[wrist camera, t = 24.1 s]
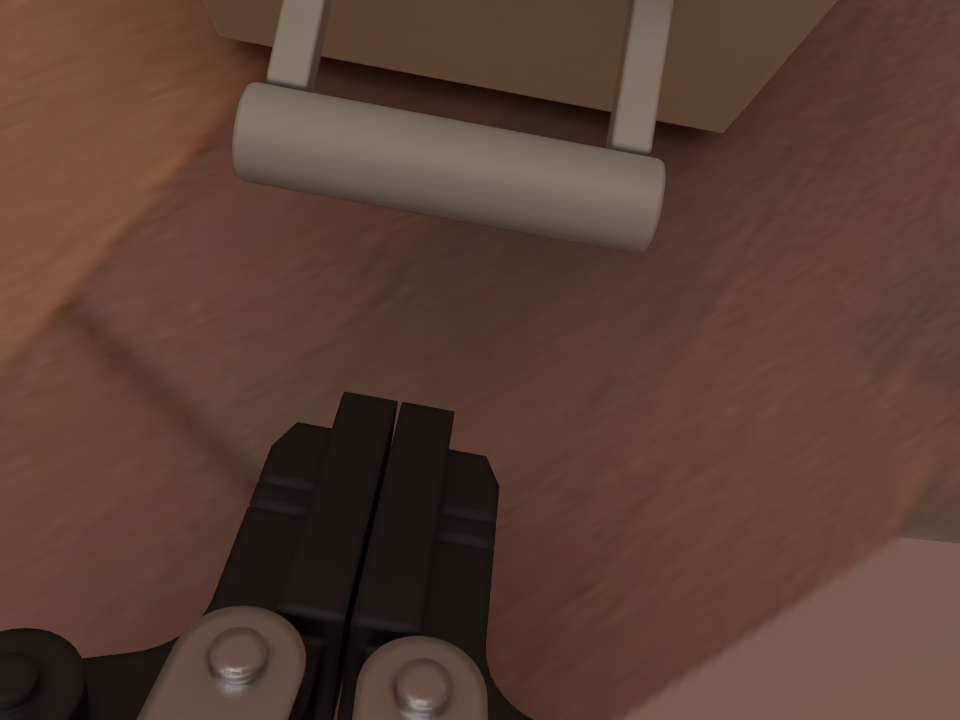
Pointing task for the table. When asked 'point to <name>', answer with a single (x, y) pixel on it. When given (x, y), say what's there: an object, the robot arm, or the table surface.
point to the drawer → (511, 68)
